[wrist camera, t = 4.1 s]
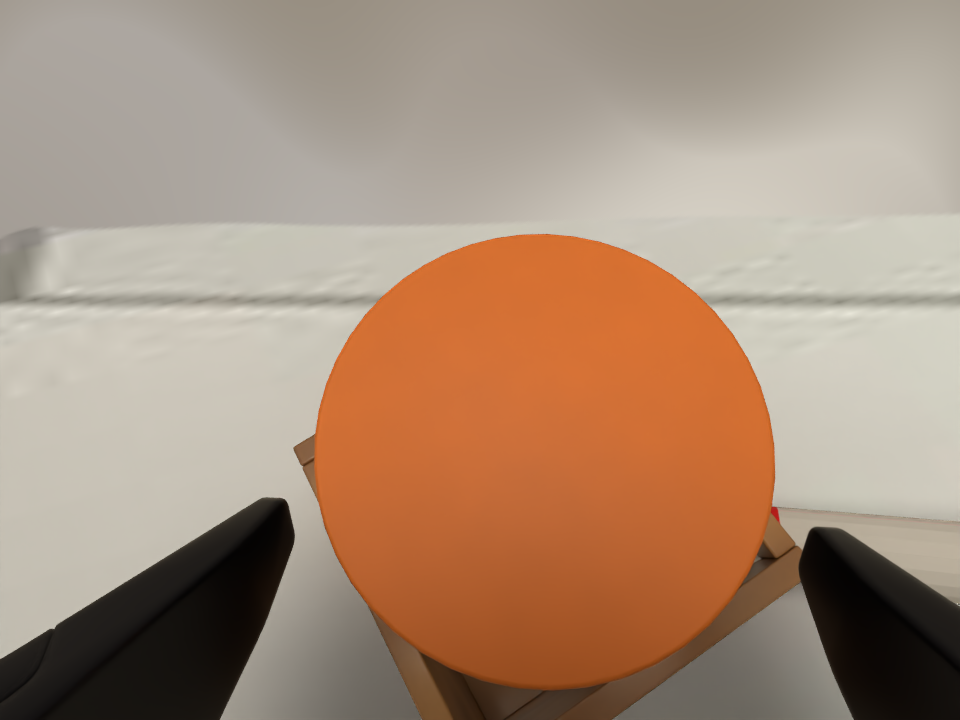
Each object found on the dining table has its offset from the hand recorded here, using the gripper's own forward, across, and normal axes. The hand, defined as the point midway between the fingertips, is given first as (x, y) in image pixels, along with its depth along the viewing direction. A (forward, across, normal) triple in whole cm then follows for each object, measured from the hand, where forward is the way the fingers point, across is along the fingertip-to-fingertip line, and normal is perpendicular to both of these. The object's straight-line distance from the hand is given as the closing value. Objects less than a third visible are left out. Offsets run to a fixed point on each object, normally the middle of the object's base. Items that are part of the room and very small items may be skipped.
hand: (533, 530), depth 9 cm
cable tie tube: (+7, 0, +5) cm, 9 cm away
